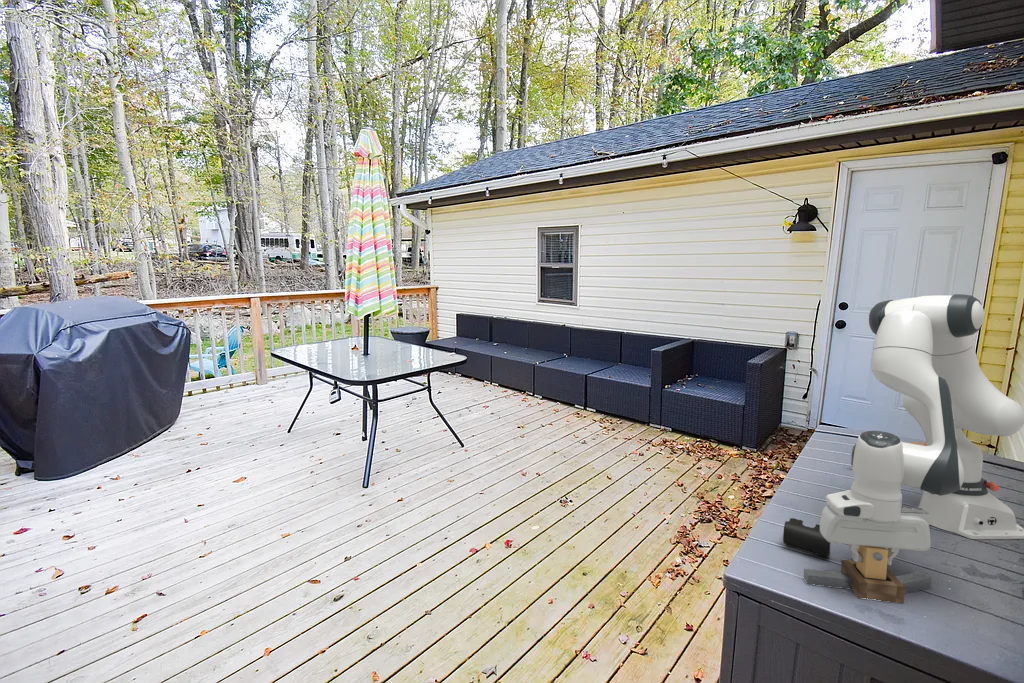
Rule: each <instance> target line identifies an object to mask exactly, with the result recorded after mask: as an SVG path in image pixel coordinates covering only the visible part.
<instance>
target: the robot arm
mask: <svg viewBox="0 0 1024 683" xmlns="http://www.w3.org/2000/svg"><path fill="white" fill-rule="evenodd" d="M984 320H985V310H984V307H983V304H982V303H981V301H980V299H978V298H976V297H974V296H973V295H971V294H961V293H955V294H953V295H952V294H951V295H950V294H949V295H948V294H947V295H946V294H944V295H943V294H942V295H941V294H936V295H931V294H930V295H921V296H916V297H915V296H913V297H907V298H906V297H905V298H900V299H895V300H893V299H888V300H884V301H880V302H878V303H876V304H875V305H874V306H873V307H872V308H871V309H870V311H869V314H868V326H869V328H870V330H871V332H872V333H873V334H874V335H875V339H874V343H873V347H872V350H871V351H872V352H871V359H870V360H871V362H870V364H871V365H870V368H871V372H872V375H873V376H874V377H875V378H876V380H878V382H880V383H881V384H883V385H884V386H885V387H887V388H889V389H891V390H893V391H896V392H898V393H900V394H901V395H903V397H902V398H903V399H902V404H903V407H904V409H905V411H906V412H907V413H908V414H909V415H910V416H911V417H912V418H913V419H914V420H915V421H916V422H917V424H918V425H919V427H920V429H921V431H922V433H923V436H924V437H925V441H926V443H927V446H923V445H917V444H911V443H909V442H904V441H902V439H901V438H900V437H899V436H897V435H895V434H894V433H890V432H888V431H887V432H886V431H882V430H867V431H863V432H861V433H860V434H859V435H858V438H857V440H856V443H855V444H854V445H853V447H852V449H851V451H852V455H851V462H850V466H851V467H852V473H853V481H852V483H851V487H850V488H851V489H847V490H844V491H838V492H835V493H834V492H833V493H828V494H826V496H825V502H826V504H827V505H825V506H824V508H823V509H822V510H821V511H822V512H821V515H820V519H819V520H820V521H819V525H820V533H821V534H822V536H823V537H824V538H825V539H826V540H827V541H828V542H831V543H830V544H833V543H835V544H844V545H847V546H848V547H849V549H850V550H851V552H852V553H851V554H852V555H851V557H852V558H851V559H852V560H854V561H855V562H861V563H863V558H864V556H863V555H862V554H861V553H860V552H857V549H859V545H863V546H874V547H884V548H886V549H887V550H888V559H887V566H892V563H893V562H892V560H893V559H894V558H895V557H896V556H897V555H898V554H899V551H900V550H907V551H917V552H918V551H919V552H927V551H928V550H929V549H931V543H932V542H931V531H930V525H931V526H932V527H935V528H938V529H940V530H944V531H947V532H950V533H954V534H958V535H960V536H963V537H965V538H967V539H972V540H1024V528H1023V527H1022V526H1020V525H1019V524H1018V523H1017V520H1016V515H1015V513H1014V511H1013V510H1012V508H1011V507H1009V506H1008V505H1007V504H1005V502H1003V501H1001V500H1000V499H998V498H997V497H996V496H994V495H993V494H991V493H990V492H989V490H991V492H998V491H999V490H1000V485H998V484H996V483H994V482H992V481H987V480H986V479H984V478H982V474H983V473H982V472H983V465H984V464H983V463H984V462H983V461H984V454H983V451H982V450H981V448H980V447H979V446H978V445H977V444H975V443H974V442H972V441H971V440H970V439H969V438H968V437H967V436H966V434H965V433H964V431H968V432H973V433H975V434H980V435H985V436H996V437H997V436H998V437H1009V436H1012V435H1015V434H1016V433H1017V432H1019V431H1020V430H1021V429H1022V428H1023V426H1024V409H1023V407H1022V406H1021V404H1020V403H1019V402H1018V401H1015V400H1013V399H1012V398H1010V397H1008V396H1007V395H1006V394H1004V393H1003V392H1001V391H1000V390H999V389H998V388H996V386H995V385H994V384H992V382H991V381H990V380H989V379H988V378H987V377H986V375H985V373H984V372H983V371H982V369H981V366H980V363H979V360H978V356H977V353H976V348H975V345H974V344H975V343H974V340H973V335H975V334H976V333H977V332H979V331H981V329H982V326H983V323H984ZM963 430H964V431H963ZM901 486H906V487H907V486H908V487H911V488H914V489H920V490H921V491H923V492H922V494H921V496H922V497H921V499H920V501H919V504H918V506H917V507H910V506H902V505H903V494H902V489H901Z"/></svg>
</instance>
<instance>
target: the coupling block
mask: <svg viewBox="0 0 1024 683" xmlns="http://www.w3.org/2000/svg"><path fill="white" fill-rule="evenodd" d="M887 549H888V548H884V547H874V546H863V545H859V549H856V550H857V552H860V553H861V554H862V555H863V556H864V558H863V563H861V562H856V567H857V568H858V570H859V571H860V572H861V573H862V574H863V576H864V577H865V578H873V579H883V580H886V573H887V568H888V565H887V559H888V550H887Z"/></svg>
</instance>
